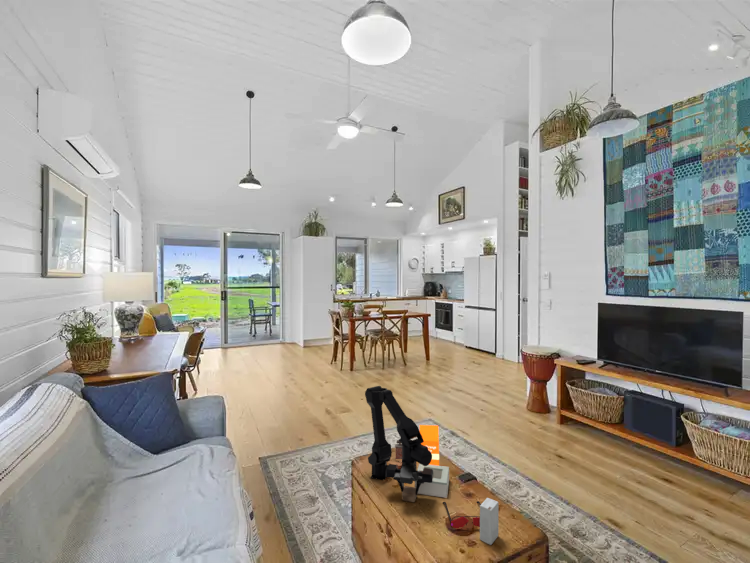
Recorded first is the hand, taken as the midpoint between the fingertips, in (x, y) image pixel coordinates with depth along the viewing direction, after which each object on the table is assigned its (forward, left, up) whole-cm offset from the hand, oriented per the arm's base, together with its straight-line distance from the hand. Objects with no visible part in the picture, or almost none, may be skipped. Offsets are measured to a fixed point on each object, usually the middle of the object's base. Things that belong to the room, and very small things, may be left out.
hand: (409, 493), depth 149 cm
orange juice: (+5, +25, -2) cm, 26 cm away
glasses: (+22, -6, -2) cm, 23 cm away
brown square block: (0, 0, -1) cm, 1 cm away
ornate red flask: (-8, +29, -2) cm, 30 cm away
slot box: (+8, +10, -2) cm, 13 cm away
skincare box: (+30, -16, -2) cm, 34 cm away
